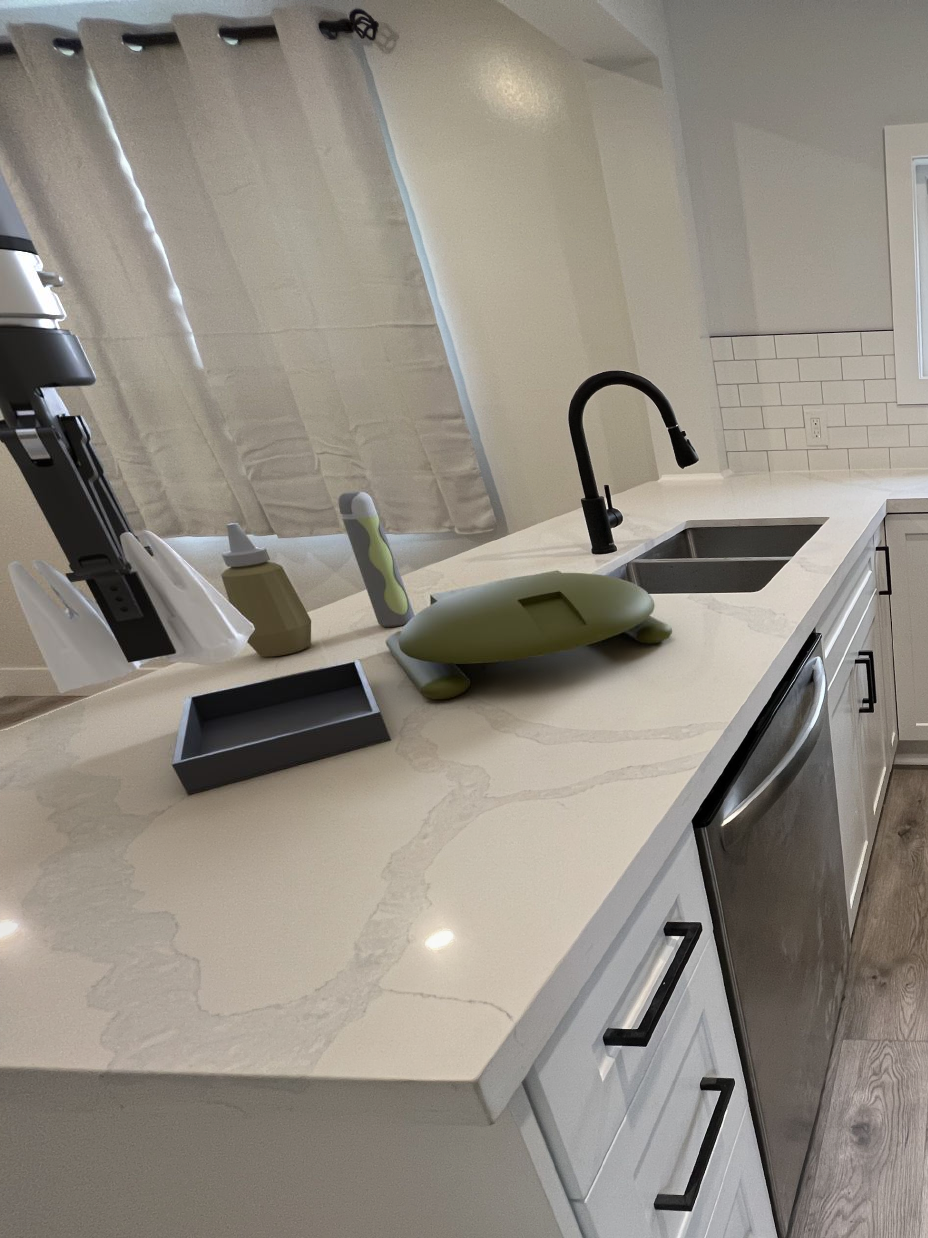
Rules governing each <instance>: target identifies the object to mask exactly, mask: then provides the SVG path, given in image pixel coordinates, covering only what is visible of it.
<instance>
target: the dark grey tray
mask: <svg viewBox="0 0 928 1238" xmlns="http://www.w3.org/2000/svg"><path fill="white" fill-rule="evenodd" d="M181 711H182V712H181V717H180V722H179V727H178V732H177V737H176V742H175V747H174V752H173V757H172V762H171V766H172V768H173V770H174V772H175V774H176V775H177V777H178V779H179V781H180V783H181V785H182V787H183V789H184V791H185V793H186V795H187V796H189V795H194V794H198V793H200V792H204V791H208V790H211V789H215V788H218V787H222V786H227V785H230V784H233V783H237V782H241V781H244V780H248V779H252V778H255V777H259V776H263V775H266V774H270V773H274V772H277V771H282V770H285V769H289V768H292V767H296V766H300V765H304V764H307V763H312V762H314V761H318V760H321V759H322V760H323V759H324V758H330V757H333V756H336V755H340V754H343V753H348V752H351V751H355V750H359V749H362V748H366V747H369V746H374V745H377V744H381V743H385V742H388V741H391V740H392V739H391V736H390V734H389V731H388V729H387V726H386V725H387V724H386V723H385V721H384V717H383V715H382V713H381V710H380V707H379V705H378V703H377V700H376V697H375V695H374V692H373V690H372V688H371V684H370V683H369V681H368V678H367V675H366V672H365V671H364V668H363V665H362V663H361V660H360V659H356V660H352V661H351V660H350V661H346V662H342V663H337V664H333V665H329V666H325V667H319V668H314V669H310V670H305V671H301V672H295V673H291V674H288V675H287V674H286V675H282V676H281V675H280V676H278V677H272V678H268V679H263V680H259V681H254V682H250V683H244V684H241V685H235V686H230V687H226V688H221V689H216V690H213V691H208V692H203V693H199V694H193V695H190V696H189V695H188V696H185V697H184V702H183V706H182V710H181Z"/></svg>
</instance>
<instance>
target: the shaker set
mask: <svg viewBox="0 0 928 1238" xmlns="http://www.w3.org/2000/svg"><path fill="white" fill-rule="evenodd" d="M141 535H142V537H143V540H145V542H146V544H147V546H150V548H151V549H152V551H153V554H154V556H155V558H154V557H153V556H150V554H149V553H148V552H147V551H146V549H145V548H144V547H145V546H143V544H141V541H140V540H139V541H140V542H139V541H138V540H137V539H136V538H135V537H134V536H133V535H132V534H131V533H130V532H125V533H123V534H121V535H120V540H121V544H122V548H123V551H124V554H125V557H126V559H127V561H128V562H130V564H131V566H132V569H131V571H132V572H135V571H137V573H138V575H139V577H140V579H141V581H142V583H143V585H144V587H145V589H146V591H147V593H148V595H149V597H150V599H151V601H152V603H153V605H154V607H155V609H156V611H157V613H158V615H159V617H160V619H161V621H162V623H163V625H164V628H165V630H166V632H167V634H168V636H169V638H170V640H171V642H172V644H173V646H174V648H175V650H176V654H171V655H166V656H162V657H163V660H164V661H166V662H168V663H181V664H183V663H185V664H195V665H199V666H214V665H215V666H216V665H219V664H222V663H225V662H227V661H228V660H232V659H233V658H234V657H236V656H237V655H238V654H239V653H240V652H241V651H243V649H244V647H245V646H246V645H247V644H248V643H247V641H248V639H249V637H250V635H251V634H252V633H253V632H254V630H255V628H254V626H253V624H252V623H251V622H249V621H248V620H247V619H246V618H245V617H244V616H243V615H242V614H241V613H240V612H239V611H238V610H237V609H236V608H235V607H234V606H233V605H231V604H230V603H229V600H228V599H226V598H225V596H223V594H221V592H219V591H218V590H217V589H216V588H215V586H213V585H212V584H211V583H210V582H208V581H207V580H206V578H204V577H203V576H202V575H201V574H200V573H199V572H198V571H197V570H196V569H195V568H193V567H192V566H191V564H189V563H188V562H187V561H186V560H185V559H184V558H183V557H182V556H181V555H180V554H179V553H178V552H176V551H175V550H174V549H173V548H172V547H171V546H170V545H169V544H168V543H167V542H165V540H163V539H161V538H160V537H159V536H158V535H156V534H155V533H154V532H152V531H150V530H147V529H144V530H141ZM31 561H32V565H33V566H34V568H35V569H36V571H37V572H38V573H39V574H40V576H41V577H42V578H43V579H44V581H45V582H46V583H47V584H48V586H49V588H51V589H52V591H53V592H54V593H55V595H56V596H57V597H58V599H59V600H60V601H61V603H62V604H63V605H64V607H65V608H66V609H65V611H64V610H63V609H62V608H61V607H60V605H59V604H58V603H57V602H56V600H54V599H53V598H52V596H51V595H50V594H49V593H48V592H47V591H46V589H45V588H44V587H43V586H42V585H41V583H39V581H38V580H37V579H36V578H35V577H34V576H33V575H32V574H31V573H30V572H29V570H28V569H26V567H25V566H24V565H23V564H22V563H21V562H20V561H11V562H10V563H8V564H7V570H8V574H9V577H10V580H11V583H12V586H13V590H14V592H15V595H16V597H17V601H18V602H19V604H20V606H21V607H20V608H21V610H22V612H23V615H24V617H25V619H26V621H27V624H28V626H29V629H30V631H31V633H32V635H33V637H34V640H35V642H36V644H37V646H38V649H39V651H40V654H41V655H42V657H43V660H44V661H45V665H47V668H48V670H49V673H50V675H51V677H52V679H53V680H52V681H53V682H54V683H55V685H56V687H57V689H58V693H60V694H64V693H66V692H68V691H72V690H76V689H81V688H82V687H87V686H89V687H90V686H95V685H99V684H100V685H101V684H102V683H105V682H109V681H112V680H116V679H119V678H120V677H124V676H127V675H128V674H130V673H133V672H134V671H136V670H139V669H140V668H141V665H145V664H146V663H149V662H151V661H155V660H159V658H160V657H155V658H150V659H145V660H140V661H134V662H129V663H128V661H127V659H126V657H125V655H124V653H123V652H122V650H121V648H120V646H119V644H118V642H117V640H116V638H115V636H114V634H113V632H112V631H111V629H110V627H109V625H108V623H107V621H106V619H105V617H104V615H103V613H102V612H101V610H100V608H99V606H98V604H97V602H96V600H95V599H94V598H92V597H91V596H90V595H88V594H87V593H85V592H84V591H83V590H82V589H81V588H80V587H78V586H77V585H76V584H75V583H74V582H70V581H69V580H68V578H67V577H66V575H63V573H61V572H60V571H58V570H57V569H56V568H54V567H53V566H51V565H50V564H49V563H47V562H46V561H44V560H42V559H39V558H34V559H32V560H31Z"/></svg>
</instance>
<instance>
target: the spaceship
mask: <svg viewBox="0 0 928 1238" xmlns="http://www.w3.org/2000/svg"><path fill="white" fill-rule="evenodd" d="M429 598H430V599H429V600H430V601H429V603H430V605H428V606H426V607H425V608H424V609H422V610H420V611H419V612H418V613H416V614H414V615H415V616H414V617H413V618H412V619H411V620H410V621H409V622H408V623H407V624H405V625H403V628H402V629H401V630H398V631H396V632H394V633H392V634H390V635H389V636H387V638H386V640H385V645H386V647H387V648H388V649H389V651H390V653H392V655H393V656H394V658H395V659H396V660H397V662H398V663H399V665H400V666H401V667H402V669H403V670H404V671H405V673H406V674H407V676H408V677H409V678H410V680H411V681H412V683H413V684H414V685H415V687H416V689H418V691H419V692H420V694H421V695H422V696H423V697H426V698H428V699H430V700H431V699H432V700H446V699H452V698H454V697H457V696H459V695H461V694H463V693H464V692H466V691H467V690H468V689H469V687H470V684H471V683H470V679H469V677H467V676H466V674H464V672H463V671H462V670H461V669H460V668H459V667H458V666H457V665H456V664H463V665H465V664H485V663H486V664H487V663H497V662H506V661H515V660H516V661H517V660H523V659H529V658H534V657H541V656H548V655H551V654H555V653H559V652H560V653H561V652H565V651H568V650H569V651H570V650H574V649H578V648H581V647H583V646H584V647H585V646H588V645H591V644H595V643H598V642H602V641H604V640H607V639H609V638H612V637H615V636H617V635H620V634H622V633H624V634H625V635H627V636H629V637H631V638H632V639H634V640H636V641H637V642H640V643H643V644H651V645H652V644H659V643H661V642H664V641H666V640H667V639H669V638H671V635H672V634H673V630H672V629H673V628H671V626H670V625H668V624H667V623H665V622H663V621H661V620H659V619H658V618H655V617H653V616H651V615H652V614H653V613H654V610H655V606H656V605H655V601H654V599H653V597H652V596H651V595H650V594H649V592H647V591H646V590H645V588H643V587H641V586H639V585H637V584H635V583H633V582H631V581H628V580H626V579H622V578H618V577H613V576H609V575H604V574H596V573H583V572H562V571H559V570H558V569H557V570H552V571H547V572H542V573H535V574H530V575H523V576H522V575H521V576H515V577H511V578H510V577H509V578H504V579H500V580H495V581H491V582H487V583H483V584H478V585H473V586H467V587H463V588H457V589H452V590H446V591H441V592H436V593H431V594H430V595H429Z"/></svg>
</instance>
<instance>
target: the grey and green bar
mask: <svg viewBox="0 0 928 1238" xmlns="http://www.w3.org/2000/svg"><path fill="white" fill-rule="evenodd" d="M337 502H338V508H339V514H341V516H342V522H343V526H344V528H345V531H346V534H347V537H348V540H349V543H350V546H351V549H352V551H353V555H354V556H355V557H354V558H355V561H356V563H357V565H358V568H359V572H360V574H361V577H362V580H363V583H364V586H365V589H366V592H367V595H368V597H369V600H370V604H371V606H372V609H373V612H374V615H375V618H376V621H377V623H378V626H381V627H384V628H394V627H400V626H405V625H406V624H407V623H408V622H409V621H410V620H411V619H412V618H413V617H414V616H415V615H416V614H415V612H414V610H413V607H412V604H411V601H410V597H409V595H408V593H407V590H406V588H405V585H404V582H403V579H402V575H401V573H400V571H399V568H398V565H397V562H396V559H395V557H394V554H393V552H392V548H391V546H390V542H389V540H388V537H387V534H386V532H385V528H384V526H383V524H382V521H381V518H380V516H379V515H378V512H377V510H376V507H375V504H374V501H373V499H372V497H371V496H370V495H369V494H368V493H367V492H363V491H358V490H357V491H356V490H355V491H354V490H353V491H352V490H351V491H346V492H345V491H344V492H343V493H341V494H340V495H339V496H338V500H337Z"/></svg>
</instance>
